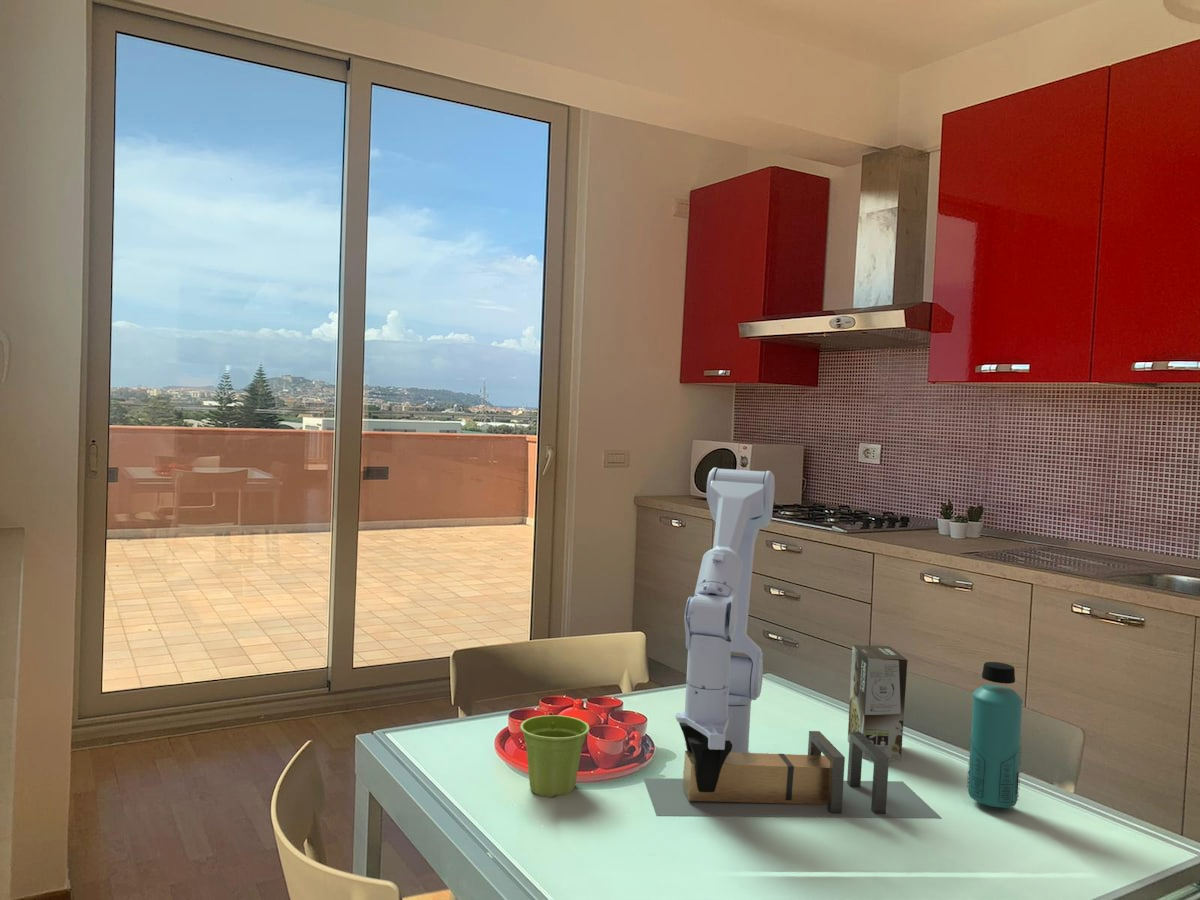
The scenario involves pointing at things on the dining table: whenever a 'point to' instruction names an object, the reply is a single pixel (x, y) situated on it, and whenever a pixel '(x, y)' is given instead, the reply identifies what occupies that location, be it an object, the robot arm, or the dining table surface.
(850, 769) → the collar
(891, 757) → the coffee box
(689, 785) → the striped wooden beam
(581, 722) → the plant pot
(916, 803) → the mat
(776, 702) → the dining table surface
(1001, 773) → the beverage bottle
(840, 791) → the collar
